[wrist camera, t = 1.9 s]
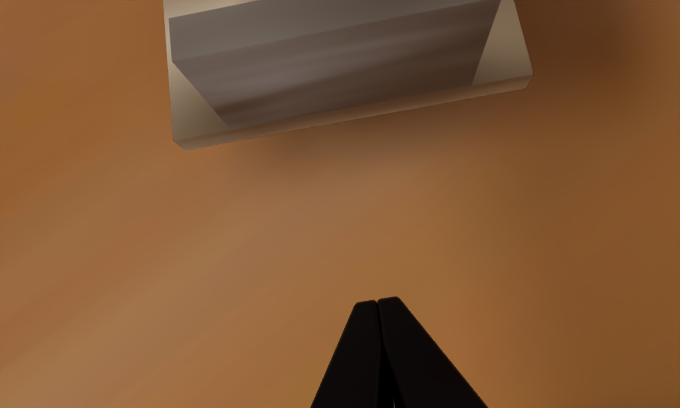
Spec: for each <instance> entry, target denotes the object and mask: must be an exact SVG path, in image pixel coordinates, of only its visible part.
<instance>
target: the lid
mask: <svg viewBox="0 0 680 408" xmlns="http://www.w3.org/2000/svg"><path fill="white" fill-rule="evenodd" d="M163 5H164V19H165V33H166V47H167V61H168V74H169V88H170V102H171V116H172V130H173V141H174V142H176V143H177V144H178V145H179V146H181V147H182V148H183V149H184V150H190V149H196V148H201V147H207V146H212V145H218V144H223V143H229V142H234V141H240V140H245V139H251V138H256V137H262V136H267V135H273V134H278V133H284V132H289V131H295V130H300V129H306V128H311V127H317V126H322V125H328V124H333V123H339V122H344V121H350V120H355V119H361V118H366V117H372V116H377V115H383V114H388V113H394V112H399V111H405V110H410V109H416V108H421V107H427V106H432V105H437V104H443V103H448V102H454V101H459V100H465V99H470V98H476V97H481V96H487V95H492V94H498V93H503V92H509V91H514V90H520V89H525V88H526V87H527V85H528V83H529V82H530V80H531V78H532V77H533V75H534V73H533V69H532V66H531V62H530V58H529V55H528V51H527V47H526V44H525V40H524V36H523V32H522V29H521V25H520V21H519V18H518V14H517V10H516V7H515V3H514V0H163Z"/></svg>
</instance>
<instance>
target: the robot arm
mask: <svg viewBox="0 0 680 408" xmlns="http://www.w3.org/2000/svg"><path fill="white" fill-rule="evenodd" d="M393 400H394V401H393ZM394 405H395V408H488V407H487V406H486V404H485V403H484V402H483V401H482V399H481V398H480V397H479V396H478V394H477V393H476V392H475V391H474V390H473V388H472V387H471V386H470V385H469V383H468V382H467V381H466V380H465V378H464V377H463V376H462V375H461V373H460V372H459V371H458V370H457V369H456V367H455V366H454V365H453V364H452V362H451V361H450V360H449V359H448V357H447V356H446V355H445V354H444V352H443V351H442V350H441V349H440V348H439V346H438V345H437V344H436V343H435V341H434V340H433V339H432V338H431V336H430V335H429V334H428V333H427V332H426V330H425V329H424V328H423V327H422V325H421V324H420V323H419V322H418V320H417V319H416V318H415V317H414V315H413V314H412V313H411V312H410V311H409V309H408V308H407V307H406V306H405V304H404V303H403V302H402V301H401V299H400V298H398V297H396V296H395V297H388V298H382V299H379V300H378V302H376V301H375V300H369V301H363V302H357V303H356V304H355V305H354V307H353V310H352V312H351V314H350V317H349V319H348V321H347V324H346V326H345V328H344V331H343V333H342V335H341V338H340V340H339V342H338V345H337V347H336V349H335V351H334V354H333V356H332V358H331V361H330V363H329V365H328V368H327V370H326V372H325V375H324V377H323V379H322V382H321V384H320V386H319V389H318V391H317V393H316V396H315V398H314V400H313V403H312V405H311V407H310V408H394Z"/></svg>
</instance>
